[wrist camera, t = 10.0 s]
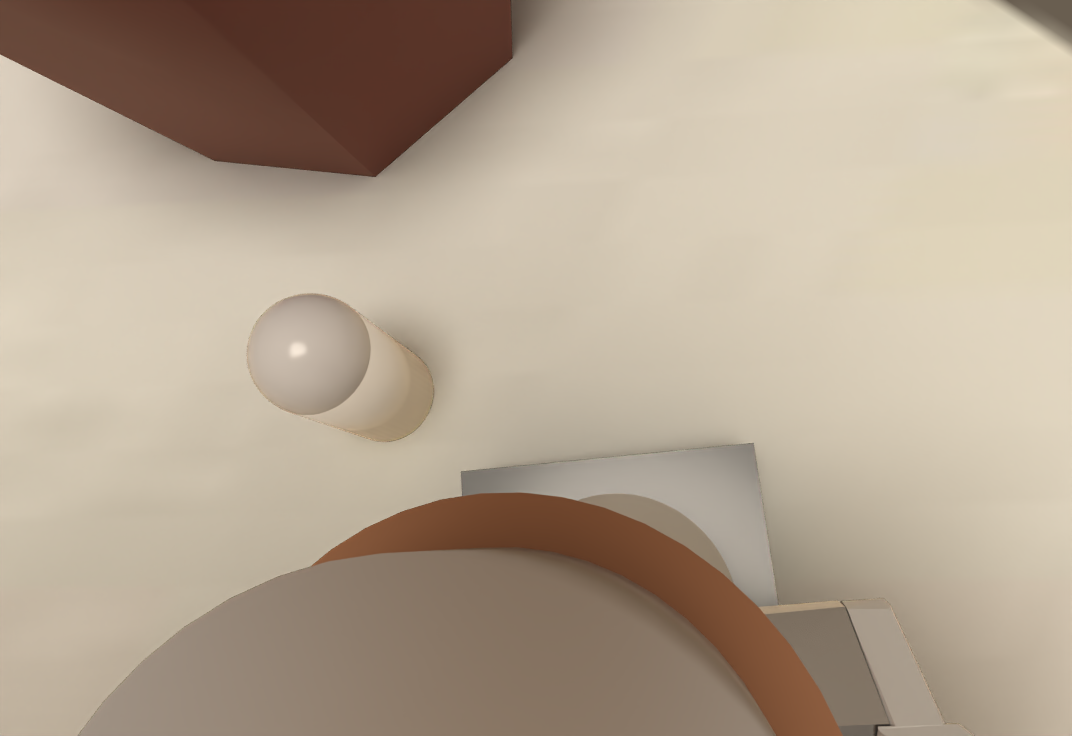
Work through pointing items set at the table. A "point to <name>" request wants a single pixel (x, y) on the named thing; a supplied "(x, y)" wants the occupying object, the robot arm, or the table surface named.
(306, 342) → the salt shaker
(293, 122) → the bucket
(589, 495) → the plinth
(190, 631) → the pepper mill
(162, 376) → the table surface
